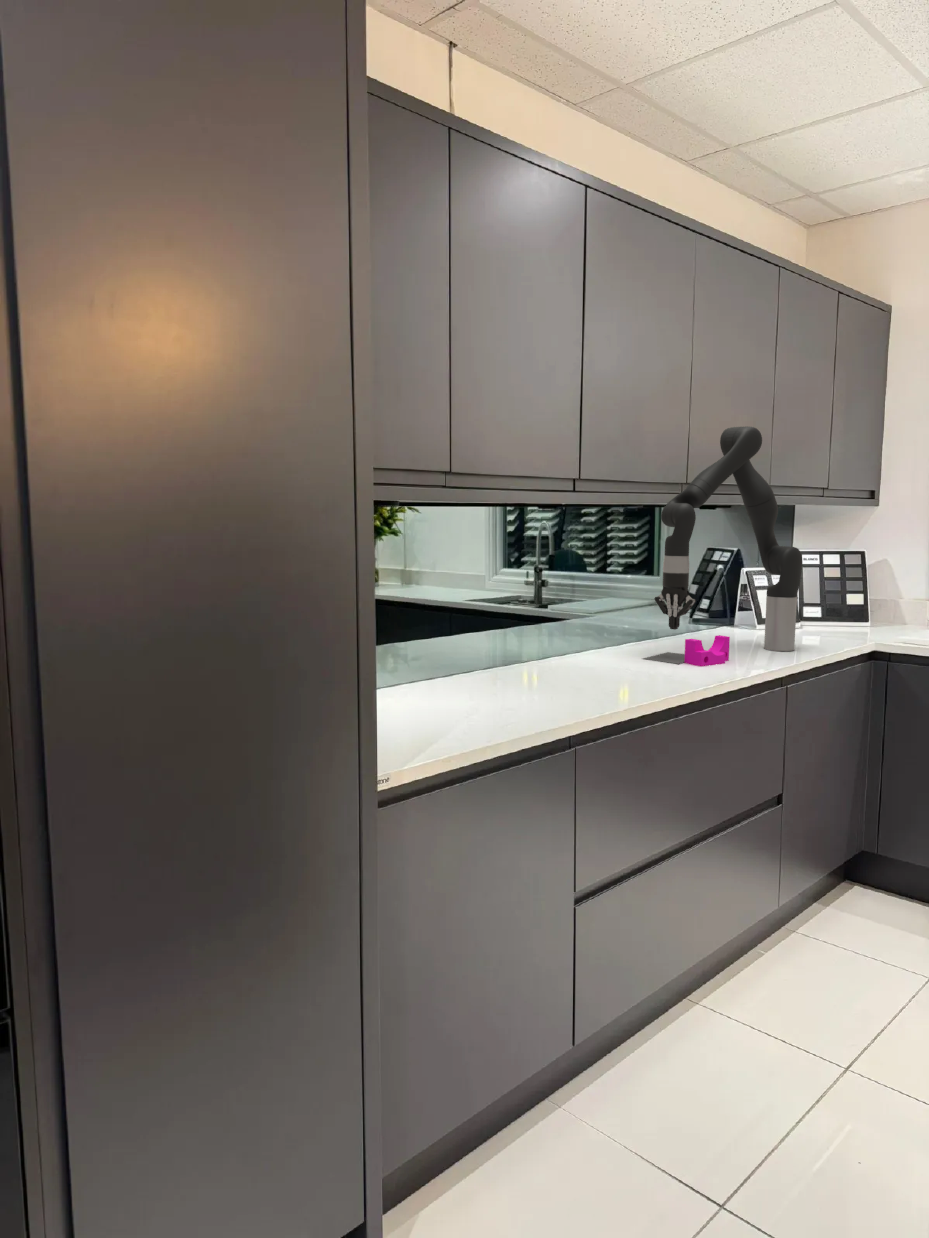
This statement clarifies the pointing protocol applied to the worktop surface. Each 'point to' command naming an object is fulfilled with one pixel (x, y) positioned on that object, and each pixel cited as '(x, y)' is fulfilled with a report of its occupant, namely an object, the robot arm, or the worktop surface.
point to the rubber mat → (668, 658)
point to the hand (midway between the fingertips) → (673, 629)
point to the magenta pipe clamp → (707, 652)
